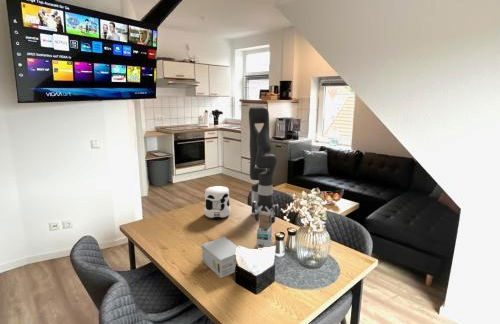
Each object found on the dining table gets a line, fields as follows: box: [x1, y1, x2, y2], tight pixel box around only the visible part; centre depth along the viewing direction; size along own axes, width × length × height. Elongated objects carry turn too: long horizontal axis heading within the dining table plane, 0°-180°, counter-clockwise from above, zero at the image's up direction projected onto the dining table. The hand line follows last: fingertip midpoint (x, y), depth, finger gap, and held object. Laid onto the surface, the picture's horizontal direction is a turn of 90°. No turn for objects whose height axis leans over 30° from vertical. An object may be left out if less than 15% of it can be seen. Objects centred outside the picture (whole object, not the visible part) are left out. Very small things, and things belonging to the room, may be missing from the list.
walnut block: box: [258, 212, 272, 229], centre depth 153 cm, size 5×5×7 cm
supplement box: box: [201, 236, 239, 279], centre depth 137 cm, size 17×13×9 cm
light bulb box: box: [256, 224, 273, 249], centre depth 155 cm, size 11×7×11 cm, turn 169°
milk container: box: [203, 185, 232, 220], centre depth 191 cm, size 17×17×18 cm
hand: (264, 221), depth 153 cm, fingers open, 8 cm apart
